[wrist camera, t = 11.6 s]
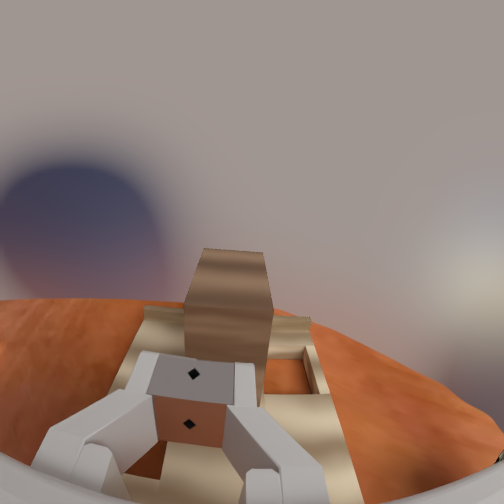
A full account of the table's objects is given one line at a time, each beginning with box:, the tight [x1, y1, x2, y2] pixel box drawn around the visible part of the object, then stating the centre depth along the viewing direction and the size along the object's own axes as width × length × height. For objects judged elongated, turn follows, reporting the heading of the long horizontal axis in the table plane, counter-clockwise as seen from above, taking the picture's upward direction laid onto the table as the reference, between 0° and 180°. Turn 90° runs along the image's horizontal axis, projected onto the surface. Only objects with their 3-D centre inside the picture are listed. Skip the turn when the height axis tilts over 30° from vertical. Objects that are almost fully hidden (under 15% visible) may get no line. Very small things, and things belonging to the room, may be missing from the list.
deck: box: [107, 305, 364, 504], centre depth 25 cm, size 26×20×4 cm
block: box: [184, 248, 274, 407], centre depth 28 cm, size 12×6×10 cm, turn 2°
